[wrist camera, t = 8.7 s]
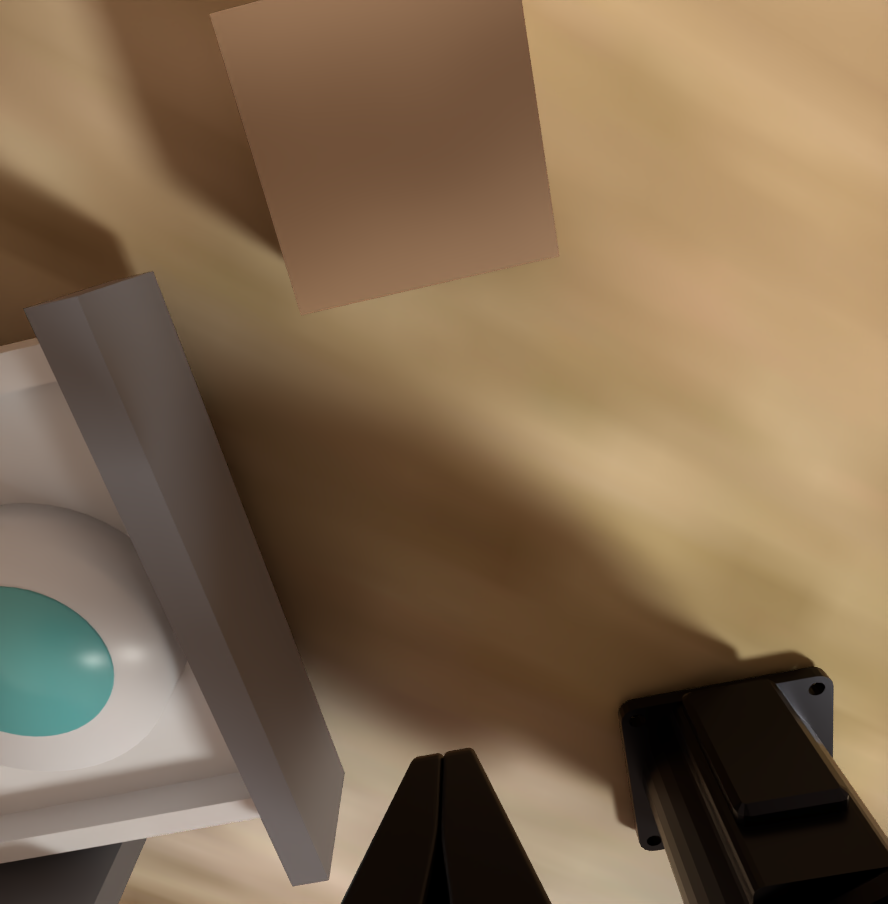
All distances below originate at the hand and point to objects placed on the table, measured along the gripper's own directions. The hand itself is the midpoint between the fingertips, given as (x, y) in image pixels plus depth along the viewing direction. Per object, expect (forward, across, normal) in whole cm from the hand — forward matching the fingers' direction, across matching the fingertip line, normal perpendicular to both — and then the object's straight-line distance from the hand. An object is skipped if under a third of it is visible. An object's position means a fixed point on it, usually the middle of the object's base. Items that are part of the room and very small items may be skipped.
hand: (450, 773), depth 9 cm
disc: (+8, +11, +1) cm, 13 cm away
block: (+10, -1, -8) cm, 13 cm away
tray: (+9, +12, +1) cm, 15 cm away
